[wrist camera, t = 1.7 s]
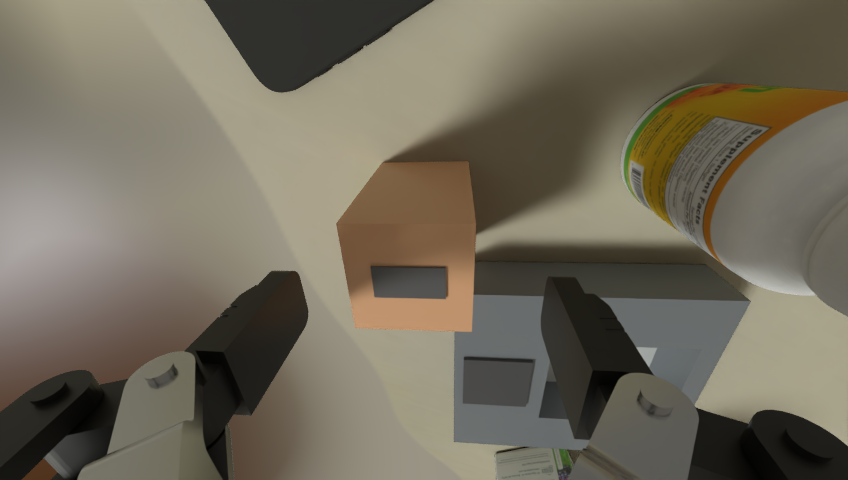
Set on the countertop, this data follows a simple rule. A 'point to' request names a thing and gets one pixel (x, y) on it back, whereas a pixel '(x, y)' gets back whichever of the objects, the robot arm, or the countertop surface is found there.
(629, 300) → the plate
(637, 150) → the supplement bottle
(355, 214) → the block
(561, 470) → the syrup box
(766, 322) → the countertop surface
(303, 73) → the phone
